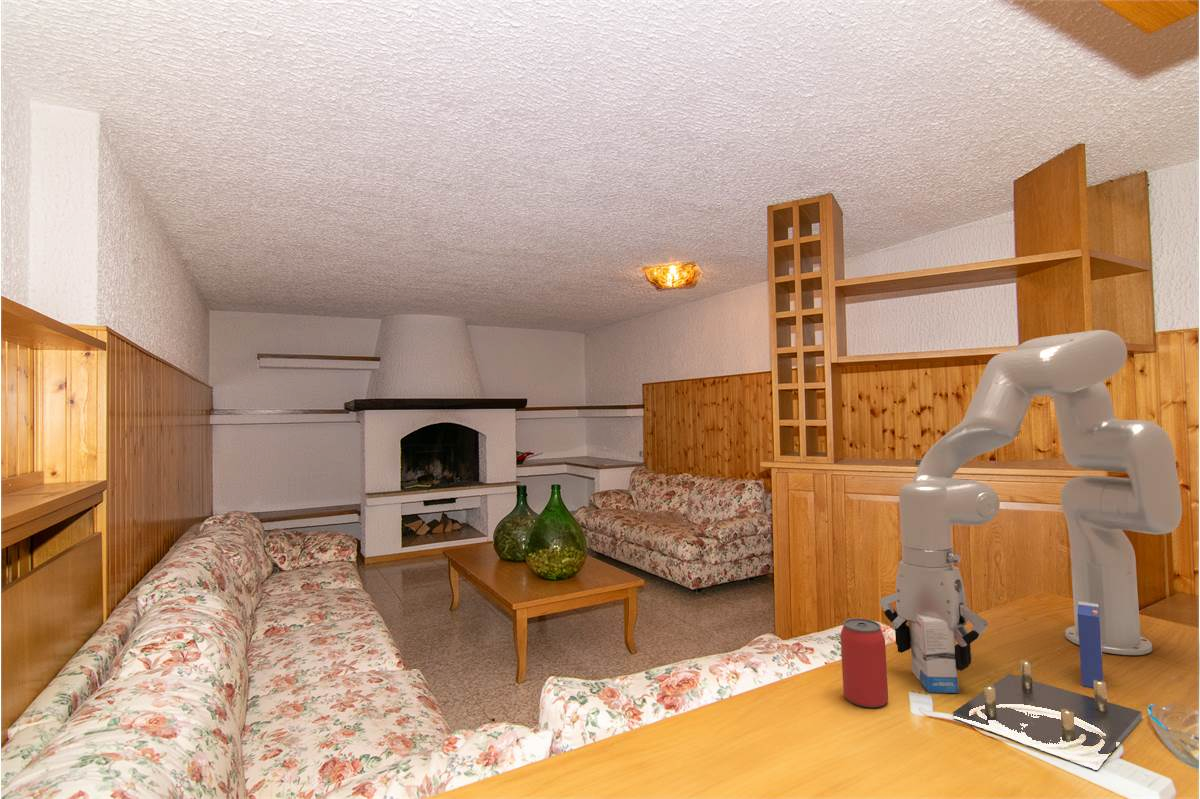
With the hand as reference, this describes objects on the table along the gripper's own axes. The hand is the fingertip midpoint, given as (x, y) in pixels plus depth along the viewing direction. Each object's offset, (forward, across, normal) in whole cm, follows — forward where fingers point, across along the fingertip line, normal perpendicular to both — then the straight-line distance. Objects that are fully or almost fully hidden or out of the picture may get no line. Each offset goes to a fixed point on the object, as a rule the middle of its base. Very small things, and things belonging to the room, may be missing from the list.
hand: (932, 659), depth 101 cm
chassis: (+4, -16, 0) cm, 16 cm away
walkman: (+4, -16, -20) cm, 26 cm away
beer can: (+4, +4, +14) cm, 15 cm away
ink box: (+4, 0, 0) cm, 4 cm away
